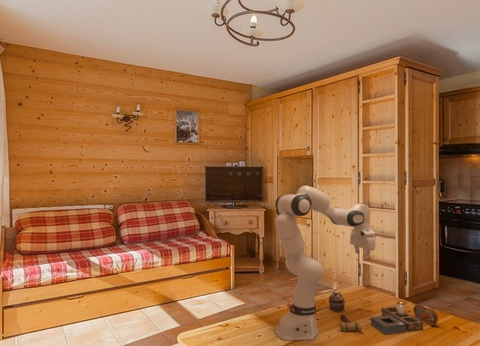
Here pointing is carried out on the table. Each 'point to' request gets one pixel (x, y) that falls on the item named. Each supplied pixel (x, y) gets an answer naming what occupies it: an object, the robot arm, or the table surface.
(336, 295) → the cupcake
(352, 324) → the gavel
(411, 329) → the tool rack
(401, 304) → the round peg
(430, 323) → the tin
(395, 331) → the socket block
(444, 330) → the table surface
